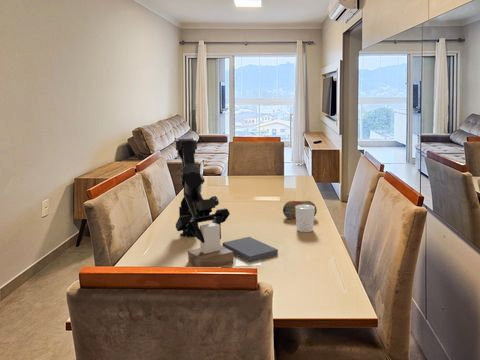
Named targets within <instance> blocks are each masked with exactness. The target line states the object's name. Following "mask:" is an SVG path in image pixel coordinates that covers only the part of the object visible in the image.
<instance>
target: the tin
mask: <svg viewBox="0 0 480 360" xmlns="http://www.w3.org/2000/svg"><path fill="white" fill-rule="evenodd" d="M297 205H312V206H314V207H315V211H314V217H316V215H317V213H318V212H317V211H318V209H317V206H316V204H315V203H314V202H312V201H310V200H289V201H288V202H287V201H286V203H284V205H283V208H282V213H283V215H284V217H285V218H287V219H289V220H296V209H295V206H297Z"/></svg>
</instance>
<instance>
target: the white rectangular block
mask: <svg viewBox="0 0 480 360" xmlns="http://www.w3.org/2000/svg"><path fill="white" fill-rule="evenodd" d="M199 229H200V231H201V233H202V235H203V238H204V241H205V242H204V243H202V242H201V241H200V240H199V243H200V244H199V245H200V247H199V248H200V249H201V252H203V253H204V254H206V253H211V252H215V251H219V250H220V245H221V239H220V225H219V224H217V223H212V222H210V223H208V224H207V223H205V224H202V225H199Z"/></svg>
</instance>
